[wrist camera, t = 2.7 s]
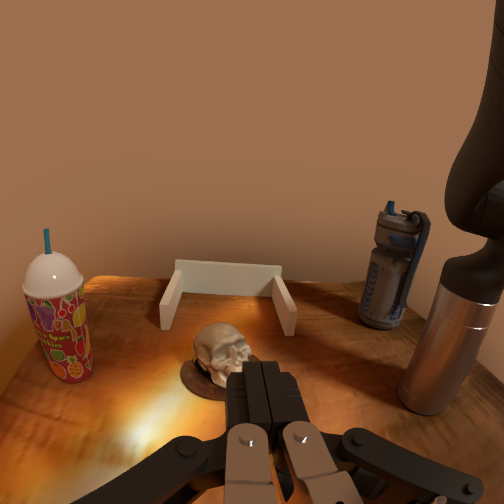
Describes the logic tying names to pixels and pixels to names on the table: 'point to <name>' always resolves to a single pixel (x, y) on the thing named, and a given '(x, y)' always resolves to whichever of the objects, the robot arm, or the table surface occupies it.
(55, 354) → the smoothie
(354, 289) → the table surface
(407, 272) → the beverage bottle
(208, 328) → the skull
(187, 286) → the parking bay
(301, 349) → the table surface
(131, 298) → the table surface
